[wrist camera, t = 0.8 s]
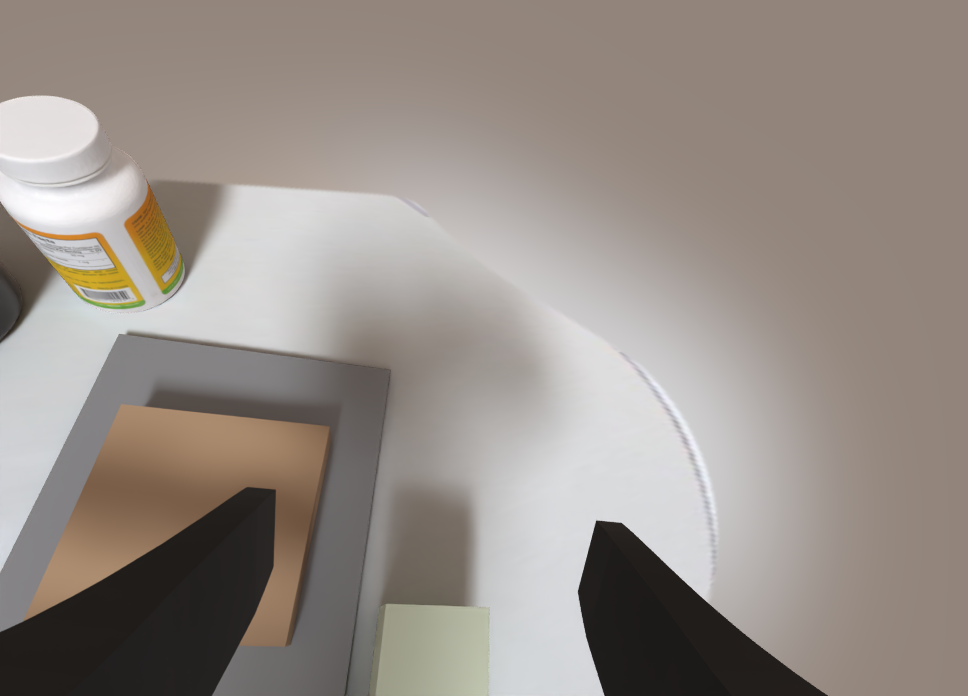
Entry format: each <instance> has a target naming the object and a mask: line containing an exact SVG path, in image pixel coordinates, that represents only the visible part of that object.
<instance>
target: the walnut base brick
mask: <svg viewBox="0 0 968 696" xmlns="http://www.w3.org/2000/svg"><path fill="white" fill-rule="evenodd" d="M330 443H331V433H330V426H322V425H312V424H303V423H294V422H284V421H275V420H265V419H256V418H247V417H237V416H228V415H218V414H209V413H200V412H190V411H181V410H171V409H162V408H153V407H143V406H134V405H124V404H121V406H120V408H119V410H118V413H117V415H116V417H115V419H114V421H113V424H112V426H111V428H110V430H109V432H108V435H107V437H106V439H105V441H104V443H103V446H102V448H101V450H100V452H99V454H98V457H97V459H96V461H95V463H94V466H93V468H92V470H91V472H90V474H89V477H88V479H87V481H86V483H85V485H84V488H83V490H82V492H81V494H80V496H79V499H78V501H77V503H76V505H75V507H74V510H73V512H72V514H71V516H70V518H69V521H68V523H67V525H66V527H65V529H64V532H63V534H62V536H61V538H60V541H59V543H58V545H57V547H56V549H55V552H54V554H53V556H52V558H51V560H50V563H49V565H48V567H47V569H46V571H45V574H44V576H43V578H42V580H41V582H40V585H39V587H38V589H37V591H36V593H35V596H34V598H33V600H32V602H31V605H30V607H29V609H28V611H27V613H26V616H25V618H24V620H23V621H25V620H27V619H29V618H31V617H33V616H35V615H37V614H39V613H41V612H43V611H45V610H47V609H49V608H50V607H52V606H54V605H56V604H58V603H60V602H62V601H64V600H66V599H68V598H70V597H72V596H74V595H75V594H77V593H79V592H81V591H83V590H85V589H86V588H88V587H90V586H92V585H94V584H95V583H97V582H99V581H101V580H103V579H104V578H106V577H108V576H109V575H111V574H113V573H114V572H116V571H118V570H119V569H121V568H123V567H124V566H126V565H128V564H129V563H131V562H133V561H134V560H136V559H138V558H139V557H141V556H142V555H144V554H146V553H147V552H149V551H151V550H152V549H154V548H156V547H157V546H159V545H161V544H162V543H164V542H165V541H167V540H168V539H170V538H171V537H173V536H174V535H176V534H177V533H179V532H180V531H182V530H183V529H185V528H186V527H188V526H189V525H191V524H193V523H194V522H196V521H197V520H199V519H200V518H202V517H203V516H204V515H206V514H207V513H209V512H210V511H212V510H213V509H215V508H216V507H218V506H219V505H221V504H222V503H223V502H225V501H226V500H228V499H229V498H231V497H232V496H234V495H235V494H237V493H238V492H240V491H241V490H243V489H244V488H246V487H255V488H265V489H275V490H276V507H275V539H274V567H273V570H272V573H271V575H270V578H269V580H268V583H267V586H266V588H265V591H264V593H263V596H262V598H261V601H260V603H259V606H258V608H257V611H256V613H255V615H254V617H253V619H252V621H251V623H250V625H249V627H248V629H247V631H246V633H245V635H244V636H243V638H242V640H241V642H240V644H239V646H278V647H286V646H289V645H291V641H292V635H293V630H294V625H295V620H296V615H297V610H298V605H299V600H300V595H301V590H302V585H303V580H304V575H305V570H306V565H307V560H308V555H309V549H310V544H311V539H312V534H313V529H314V524H315V519H316V514H317V509H318V504H319V499H320V494H321V489H322V484H323V479H324V474H325V469H326V463H327V458H328V453H329V448H330Z"/></svg>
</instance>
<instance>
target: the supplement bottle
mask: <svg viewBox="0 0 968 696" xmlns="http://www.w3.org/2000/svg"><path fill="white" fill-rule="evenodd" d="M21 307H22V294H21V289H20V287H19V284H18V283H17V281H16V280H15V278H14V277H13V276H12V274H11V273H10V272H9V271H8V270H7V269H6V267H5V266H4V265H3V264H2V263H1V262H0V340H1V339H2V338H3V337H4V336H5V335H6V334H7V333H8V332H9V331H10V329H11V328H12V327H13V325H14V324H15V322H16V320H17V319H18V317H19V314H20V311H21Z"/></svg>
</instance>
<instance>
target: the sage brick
mask: <svg viewBox="0 0 968 696" xmlns="http://www.w3.org/2000/svg"><path fill="white" fill-rule="evenodd" d="M489 615H490V607H464V606H437V605H410V604H385V605H383V606H381V607H379V613H378V621H377V629H376V637H375V646H374V654H373V662H372V670H371V679H370V687H369V695H368V696H488V678H489Z"/></svg>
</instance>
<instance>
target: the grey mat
mask: <svg viewBox="0 0 968 696" xmlns="http://www.w3.org/2000/svg"><path fill="white" fill-rule="evenodd" d="M390 371H391V370H388V369H381V368H373V367H366V366H358V365H351V364H343V363H335V362H328V361H320V360H313V359H305V358H298V357H290V356H282V355H275V354H267V353H260V352H252V351H245V350H237V349H229V348H222V347H214V346H207V345H199V344H192V343H184V342H176V341H169V340H161V339H154V338H146V337H139V336H131V335H123V334H119V335H118V337H117V339H116V341H115V343H114V345H113V347H112V349H111V351H110V353H109V355H108V357H107V359H106V361H105V363H104V365H103V367H102V369H101V371H100V373H99V375H98V377H97V379H96V381H95V383H94V385H93V387H92V389H91V392H90V394H89V396H88V398H87V400H86V402H85V404H84V406H83V408H82V410H81V412H80V414H79V416H78V418H77V420H76V422H75V424H74V426H73V428H72V430H71V432H70V434H69V436H68V438H67V440H66V442H65V444H64V446H63V448H62V450H61V452H60V454H59V456H58V458H57V460H56V462H55V464H54V466H53V468H52V470H51V472H50V474H49V476H48V478H47V480H46V482H45V484H44V486H43V488H42V490H41V492H40V494H39V496H38V498H37V500H36V502H35V504H34V506H33V508H32V510H31V512H30V514H29V516H28V518H27V520H26V522H25V524H24V526H23V528H22V530H21V532H20V534H19V536H18V538H17V540H16V542H15V544H14V546H13V548H12V551H11V553H10V555H9V557H8V559H7V561H6V563H5V565H4V567H3V569H2V571H1V573H0V632H1V631H3V630H6V629H8V628H10V627H12V626H14V625H16V624H19V623H21V622H23V620H24V618H25V616H26V613H27V611H28V609H29V607H30V605H31V602H32V600H33V598H34V596H35V593H36V591H37V589H38V587H39V585H40V582H41V580H42V578H43V576H44V574H45V571H46V569H47V567H48V565H49V563H50V560H51V558H52V556H53V554H54V552H55V549H56V547H57V545H58V543H59V541H60V538H61V536H62V534H63V532H64V529H65V527H66V525H67V523H68V521H69V518H70V516H71V514H72V512H73V510H74V507H75V505H76V503H77V501H78V499H79V496H80V494H81V492H82V490H83V488H84V485H85V483H86V481H87V479H88V477H89V474H90V472H91V470H92V468H93V466H94V463H95V461H96V459H97V457H98V454H99V452H100V450H101V448H102V446H103V443H104V441H105V439H106V437H107V435H108V432H109V430H110V428H111V426H112V424H113V421H114V419H115V417H116V415H117V413H118V410H119V408H120V406H121V404H124V405H134V406H143V407H153V408H162V409H171V410H181V411H190V412H200V413H209V414H218V415H228V416H237V417H247V418H256V419H265V420H275V421H284V422H294V423H303V424H312V425H322V426H330V433H331V443H330V448H329V453H328V458H327V463H326V469H325V474H324V479H323V484H322V489H321V494H320V499H319V504H318V509H317V514H316V519H315V524H314V529H313V534H312V539H311V544H310V549H309V555H308V560H307V565H306V570H305V575H304V580H303V585H302V590H301V595H300V600H299V605H298V610H297V615H296V620H295V625H294V630H293V635H292V641H291V645H289V646H286V647H278V646H238V648H237V650H236V652H235V654H234V655H233V657H232V659H231V661H230V663H229V665H228V667H227V669H226V670H225V672H224V674H223V676H222V678H221V680H220V682H219V684H218V685H217V687H216V689H215V691H214V693H213V695H212V696H344V695H345V688H346V681H347V674H348V667H349V660H350V653H351V646H352V639H353V632H354V625H355V618H356V611H357V604H358V597H359V589H360V582H361V575H362V568H363V561H364V554H365V547H366V540H367V533H368V526H369V519H370V512H371V505H372V498H373V491H374V484H375V476H376V469H377V462H378V455H379V448H380V441H381V434H382V427H383V420H384V413H385V406H386V399H387V392H388V385H389V378H390Z"/></svg>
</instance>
